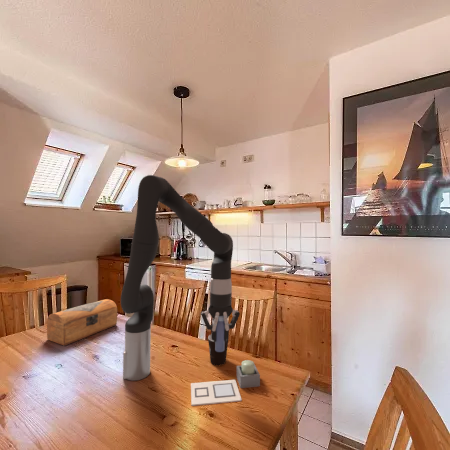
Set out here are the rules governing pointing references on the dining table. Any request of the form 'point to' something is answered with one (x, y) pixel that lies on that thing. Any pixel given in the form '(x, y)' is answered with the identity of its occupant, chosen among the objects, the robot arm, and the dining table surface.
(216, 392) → the sheet
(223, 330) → the marker
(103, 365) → the dining table surface
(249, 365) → the button
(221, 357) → the coffee mug
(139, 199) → the robot arm
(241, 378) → the button housing
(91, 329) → the wooden box
